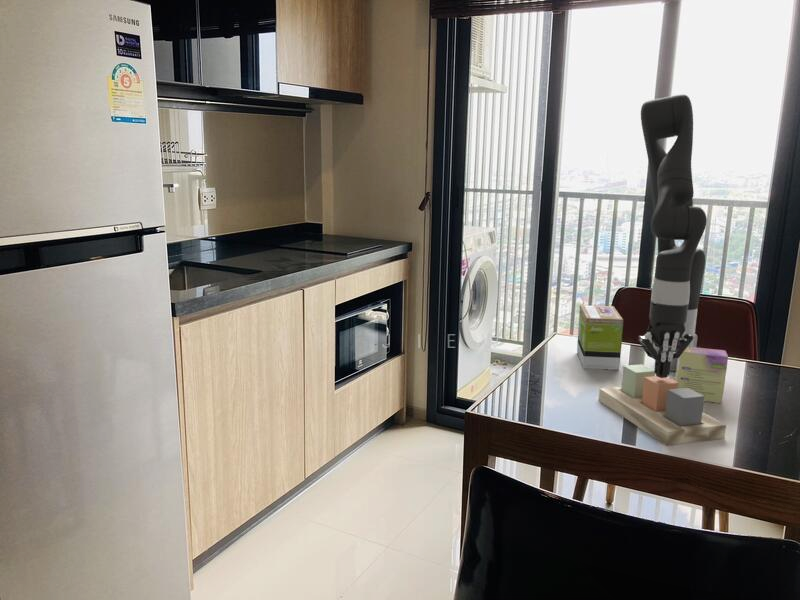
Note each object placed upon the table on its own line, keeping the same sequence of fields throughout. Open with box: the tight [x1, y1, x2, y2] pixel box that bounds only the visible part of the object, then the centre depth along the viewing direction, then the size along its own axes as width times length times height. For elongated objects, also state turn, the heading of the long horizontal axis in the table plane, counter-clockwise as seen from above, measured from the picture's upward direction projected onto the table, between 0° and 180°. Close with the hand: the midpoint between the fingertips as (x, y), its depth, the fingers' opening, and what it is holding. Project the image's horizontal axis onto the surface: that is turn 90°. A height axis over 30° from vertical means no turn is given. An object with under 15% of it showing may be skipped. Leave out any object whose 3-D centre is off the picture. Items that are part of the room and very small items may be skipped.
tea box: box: [576, 304, 624, 371], centre depth 183 cm, size 15×10×15 cm, turn 172°
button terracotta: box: [642, 375, 679, 412], centre depth 145 cm, size 5×5×6 cm
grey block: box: [665, 388, 705, 427], centre depth 137 cm, size 5×5×6 cm
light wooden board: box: [598, 386, 727, 446], centre depth 146 cm, size 14×25×3 cm, turn 15°
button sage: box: [620, 363, 656, 399], centre depth 152 cm, size 5×5×6 cm
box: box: [674, 346, 729, 404], centre depth 158 cm, size 10×6×12 cm, turn 71°
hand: (661, 376), depth 144 cm, fingers closed
